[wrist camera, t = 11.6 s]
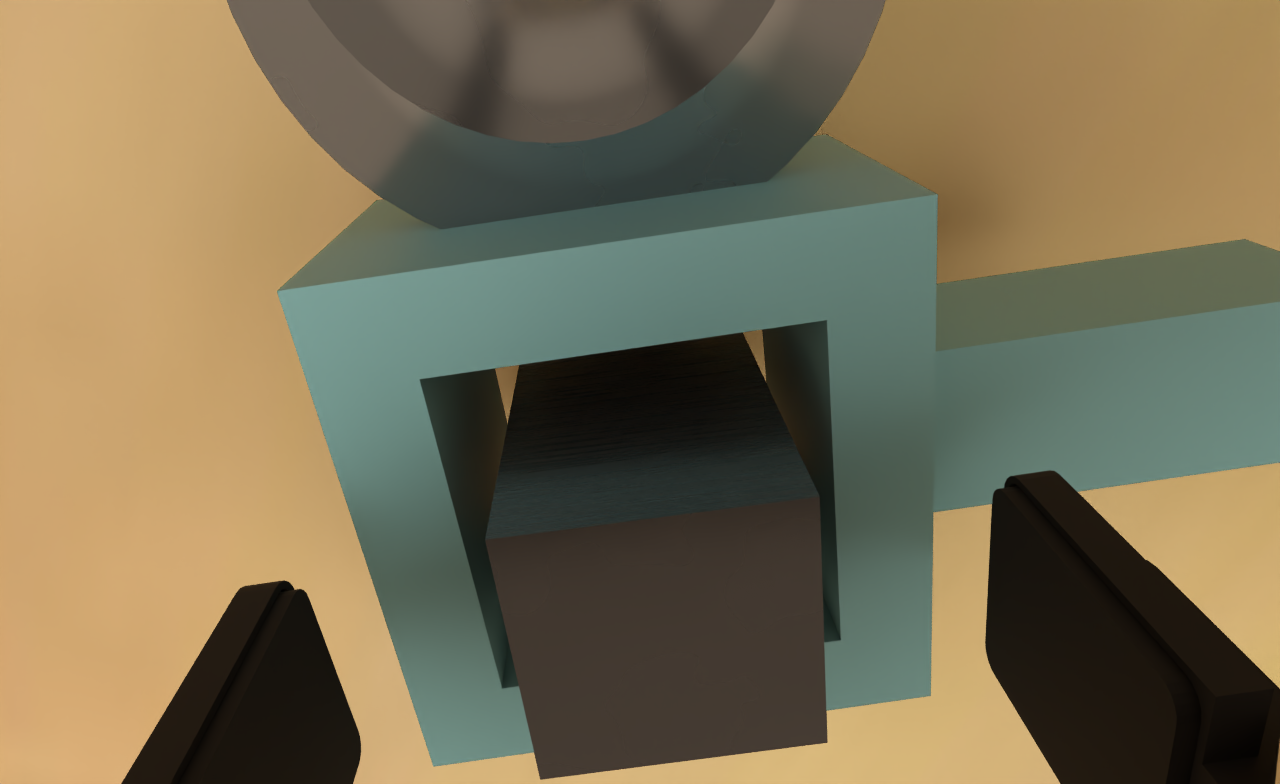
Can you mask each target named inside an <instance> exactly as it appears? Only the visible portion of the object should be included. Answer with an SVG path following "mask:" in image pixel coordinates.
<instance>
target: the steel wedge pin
mask: <svg viewBox="0 0 1280 784" xmlns="http://www.w3.org/2000/svg"><path fill="white" fill-rule="evenodd" d="M485 542H486V546H487V551H488V555H489V559H490V564H491V568H492V572H493V577H494V581H495V585H496V590H497V594H498V598H499V603H500V607H501V611H502V616H503V620H504V624H505V628H506V633H507V637H508V641H509V646H510V650H511V654H512V659H513V663H514V667H515V672H516V676H517V680H518V685H519V689H520V693H521V698H522V702H523V706H524V711H525V715H526V719H527V724H528V728H529V732H530V737H531V741H532V745H533V750H534V754H535V758H536V763H537V767H538V771H539V776H540V780H541V779H549V778H556V777H564V776H572V775H580V774H587V773H595V772H603V771H611V770H619V769H626V768H634V767H642V766H650V765H657V764H665V763H673V762H681V761H688V760H696V759H704V758H712V757H720V756H727V755H735V754H743V753H751V752H758V751H766V750H774V749H782V748H789V747H797V746H805V745H813V744H821V743H827V713H826V681H825V649H824V617H823V584H822V552H821V520H820V496H819V494H818V492H817V490H816V488H815V486H814V483H813V481H812V479H811V477H810V475H809V473H808V471H807V469H806V466H805V464H804V462H803V460H802V458H801V456H800V454H799V452H798V449H797V447H796V445H795V443H794V441H793V439H792V437H791V434H790V432H789V430H788V428H787V426H786V424H785V422H784V420H783V417H782V415H781V413H780V411H779V409H778V407H777V405H776V403H775V400H774V398H773V396H772V394H771V392H770V390H769V388H768V385H767V383H766V381H765V379H764V377H763V375H762V373H761V371H760V368H759V366H758V364H757V362H756V360H755V358H754V356H753V354H752V351H751V349H750V347H749V345H748V343H747V341H746V339H745V337H744V334H743V332H741V333H734V334H728V335H721V336H714V337H707V338H700V339H693V340H686V341H679V342H673V343H666V344H659V345H652V346H645V347H638V348H631V349H624V350H618V351H611V352H604V353H597V354H590V355H583V356H576V357H569V358H563V359H556V360H549V361H542V362H535V363H528V364H521V365H519V369H518V374H517V379H516V384H515V389H514V395H513V400H512V405H511V410H510V415H509V420H508V425H507V430H506V435H505V440H504V446H503V451H502V456H501V461H500V466H499V471H498V476H497V481H496V486H495V491H494V496H493V502H492V507H491V512H490V517H489V522H488V527H487V532H486V537H485Z"/></svg>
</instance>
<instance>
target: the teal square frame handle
mask: <svg viewBox="0 0 1280 784" xmlns="http://www.w3.org/2000/svg"><path fill="white" fill-rule="evenodd" d="M937 208H938V194H936V193H934V192H932V191H930V190H929V189H927V188H925V187H923V186H921V185H919V184H917V183H916V182H914V181H912V180H910V179H908V178H906V177H905V176H903V175H901V174H899V173H897V172H895V171H893V170H892V169H890V168H888V167H886V166H884V165H882V164H880V163H879V162H877V161H875V160H873V159H871V158H869V157H868V156H866V155H864V154H862V153H860V152H858V151H856V150H855V149H853V148H851V147H849V146H847V145H845V144H843V143H842V142H840V141H838V140H836V139H834V138H832V137H831V136H829V135H827V134H826V135H819V136H812V138H811V139H810V140H809V141H808V142H807V143H806V144H805V145H804V146H803V147H802V149H801V150H800V151H799V152H798V153H797V154H796V155H795V156H794V157H793V158H792V160H791V161H790V162H789V163H788V164H787V165H786V166H785V167H783V168H782V169H781V170H780V171H779V172H778V173H776V174H775V175H774V176H773V177H772V178H771V179H770V180H768V181H767V182H761V183H755V184H748V185H741V186H734V187H727V188H720V189H714V190H707V191H700V192H693V193H686V194H680V195H673V196H666V197H659V198H652V199H645V200H639V201H632V202H625V203H618V204H611V205H605V206H598V207H591V208H584V209H577V210H570V211H564V212H557V213H550V214H543V215H536V216H529V217H523V218H516V219H509V220H502V221H495V222H489V223H482V224H475V225H468V226H461V227H454V228H448V229H439V228H437V227H434V226H432V225H430V224H428V223H425V222H423V221H421V220H419V219H416V218H415V217H413V216H411V215H410V214H408V213H406V212H405V211H403V210H401V209H400V208H398V207H396V206H395V205H393V204H391V203H390V202H388V201H386V200H385V199H383V200H376V201H375V202H374V203H373V204H372V205H371V206H370V207H369V208H368V209H367V210H365V211H364V212H363V213H362V214H361V215H360V216H359V217H358V218H357V219H356V220H354V221H353V222H352V223H351V224H350V225H349V226H348V227H347V228H346V229H345V230H343V231H342V232H341V233H340V234H339V235H338V236H337V237H336V238H335V239H334V240H332V241H331V242H330V243H329V244H328V245H327V246H326V247H325V248H324V249H323V250H322V251H320V252H319V253H318V254H317V255H316V256H315V257H314V258H313V259H312V260H311V261H309V262H308V263H307V264H306V265H305V266H304V267H303V268H302V269H301V270H300V271H298V272H297V273H296V274H295V275H294V276H293V277H292V278H291V279H290V280H289V281H287V282H286V283H285V284H284V285H283V286H282V287H281V288H280V289H279V290H278V291H277V293H278V296H279V299H280V302H281V305H282V308H283V311H284V314H285V317H286V320H287V323H288V326H289V329H290V332H291V335H292V338H293V341H294V345H295V348H296V351H297V354H298V357H299V360H300V363H301V366H302V369H303V372H304V375H305V378H306V381H307V384H308V387H309V390H310V393H311V396H312V399H313V402H314V405H315V408H316V411H317V414H318V417H319V420H320V423H321V426H322V429H323V433H324V436H325V439H326V442H327V445H328V448H329V451H330V454H331V457H332V460H333V463H334V466H335V469H336V472H337V475H338V478H339V481H340V484H341V487H342V490H343V493H344V496H345V499H346V502H347V505H348V508H349V511H350V514H351V518H352V521H353V524H354V527H355V530H356V533H357V536H358V539H359V542H360V545H361V548H362V551H363V554H364V557H365V560H366V563H367V566H368V569H369V572H370V575H371V578H372V581H373V584H374V587H375V590H376V593H377V596H378V599H379V602H380V606H381V609H382V612H383V615H384V618H385V621H386V624H387V627H388V630H389V633H390V636H391V639H392V642H393V645H394V648H395V651H396V654H397V657H398V660H399V663H400V666H401V669H402V672H403V675H404V678H405V681H406V684H407V687H408V690H409V694H410V697H411V700H412V703H413V706H414V709H415V712H416V715H417V718H418V721H419V724H420V727H421V730H422V733H423V736H424V739H425V742H426V745H427V748H428V751H429V754H430V757H431V760H432V763H433V766H441V765H448V764H455V763H462V762H469V761H476V760H483V759H490V758H497V757H504V756H511V755H518V754H525V753H532V752H534V750H533V745H532V741H531V737H530V732H529V728H528V724H527V719H526V715H525V711H524V706H523V702H522V698H521V693H520V689H519V685H518V680H517V676H516V672H515V667H514V663H513V659H512V654H511V650H510V646H509V641H508V637H507V633H506V628H505V624H504V620H503V616H502V611H501V607H500V603H499V598H498V594H497V590H496V585H495V581H494V577H493V572H492V568H491V564H490V559H489V555H488V551H487V546H486V542H485V537H486V532H487V527H488V522H489V517H490V512H491V507H492V502H493V496H494V491H495V486H496V481H497V476H498V471H499V466H500V461H501V456H502V451H503V446H504V440H505V435H506V430H507V420H506V416H505V411H504V407H503V402H502V398H501V393H500V389H499V385H498V380H497V376H496V371H495V368H501V367H508V366H514V365H521V364H528V363H535V362H542V361H549V360H556V359H563V358H569V357H576V356H583V355H590V354H597V353H604V352H611V351H618V350H624V349H631V348H638V347H645V346H652V345H659V344H666V343H673V342H679V341H686V340H693V339H700V338H707V337H714V336H721V335H728V334H734V333H741V332H748V331H755V330H762V331H763V343H764V356H765V369H766V382H767V385H768V388H769V390H770V392H771V394H772V396H773V398H774V400H775V403H776V405H777V407H778V409H779V411H780V413H781V415H782V417H783V420H784V422H785V424H786V426H787V428H788V430H789V432H790V434H791V437H792V439H793V441H794V443H795V445H796V447H797V449H798V452H799V454H800V456H801V458H802V460H803V462H804V464H805V466H806V469H807V471H808V473H809V475H810V477H811V479H812V481H813V483H814V486H815V488H816V490H817V492H818V494H819V496H820V520H821V552H822V584H823V617H824V649H825V681H826V711H827V710H834V709H841V708H848V707H855V706H862V705H869V704H877V703H884V702H891V701H898V700H905V699H912V698H919V697H926V696H931V640H932V568H933V512H939V511H946V510H953V509H960V508H967V507H974V506H980V505H987V504H992V498H993V493H994V491H995V490H996V489H999V488H1004V484H1005V482H1006V480H1007V478H1008V477H1010V476H1014V475H1020V474H1027V473H1034V472H1041V471H1048V470H1052V471H1056V472H1057V473H1058V474H1060V475H1061V476H1062V477H1063V478H1064V479H1065V480H1066V481H1067V482H1068V483H1069V484H1070V485H1071V486H1072V487H1073V488H1074V489H1075V490H1076V491H1077V492H1078V491H1085V490H1092V489H1099V488H1106V487H1113V486H1120V485H1127V484H1133V483H1140V482H1147V481H1154V480H1161V479H1168V478H1175V477H1182V476H1189V475H1196V474H1203V473H1210V472H1217V471H1224V470H1231V469H1238V468H1245V467H1252V466H1259V465H1266V464H1273V463H1280V251H1277V250H1274V249H1271V248H1268V247H1266V246H1263V245H1260V244H1257V243H1254V242H1252V241H1249V240H1246V239H1242V240H1235V241H1229V242H1222V243H1215V244H1208V245H1201V246H1194V247H1187V248H1181V249H1174V250H1167V251H1160V252H1153V253H1146V254H1139V255H1132V256H1126V257H1119V258H1112V259H1105V260H1098V261H1091V262H1084V263H1078V264H1071V265H1064V266H1057V267H1050V268H1043V269H1036V270H1029V271H1023V272H1016V273H1009V274H1002V275H995V276H988V277H981V278H975V279H968V280H961V281H954V282H947V283H940V284H936V280H937Z"/></svg>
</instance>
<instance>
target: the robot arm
mask: <svg viewBox="0 0 1280 784" xmlns="http://www.w3.org/2000/svg"><path fill="white" fill-rule="evenodd" d="M985 643H986V653H987V657H988V661H989V664H990V666H991V669H992V671H993V673H994V674H995V676H996V678H997V679H998V681H999V683H1000V684H1001V686H1002V688H1003V689H1004V691H1005V693H1006V694H1007V696H1008V698H1009V699H1010V701H1011V703H1012V704H1013V706H1014V707H1015V709H1016V711H1017V712H1018V714H1019V716H1020V717H1021V719H1022V721H1023V722H1024V724H1025V726H1026V727H1027V729H1028V731H1029V732H1030V734H1031V736H1032V737H1033V739H1034V740H1035V742H1036V744H1037V745H1038V747H1039V749H1040V750H1041V752H1042V754H1043V755H1044V757H1045V759H1046V760H1047V762H1048V764H1049V765H1050V767H1051V769H1052V770H1053V772H1054V773H1055V775H1056V777H1057V778H1058V780H1059V782H1060V783H1061V784H1280V689H1279V688H1278V687H1277V686H1276V685H1275V684H1274V683H1273V682H1272V681H1271V680H1270V679H1269V678H1268V677H1267V676H1266V675H1265V674H1264V673H1263V672H1262V671H1261V670H1260V669H1259V668H1258V667H1257V666H1256V665H1255V664H1254V663H1253V662H1252V661H1251V660H1250V659H1249V658H1248V657H1247V656H1246V655H1245V654H1244V653H1243V652H1242V651H1241V650H1240V649H1239V648H1238V647H1237V646H1236V645H1235V644H1234V643H1233V642H1232V641H1231V640H1230V639H1229V638H1228V637H1227V636H1226V635H1225V634H1224V633H1223V632H1222V631H1221V630H1220V629H1219V628H1218V627H1217V626H1216V625H1215V624H1214V623H1213V622H1212V621H1211V620H1210V619H1209V618H1208V617H1207V616H1206V615H1205V614H1204V613H1203V612H1202V611H1201V610H1200V609H1199V608H1198V607H1197V606H1196V605H1195V604H1194V603H1193V602H1192V601H1191V600H1189V599H1188V598H1187V597H1186V596H1185V595H1184V594H1183V593H1182V592H1181V591H1180V590H1179V589H1178V588H1177V587H1176V586H1175V585H1174V584H1173V583H1172V582H1171V581H1170V580H1169V579H1168V578H1167V577H1166V576H1165V575H1164V574H1163V573H1162V572H1161V571H1160V570H1159V569H1158V568H1157V567H1156V566H1154V565H1153V564H1152V563H1150V562H1149V561H1148V560H1145V559H1144V558H1143V557H1142V556H1141V555H1140V554H1139V553H1138V552H1137V551H1136V550H1135V549H1134V548H1133V547H1132V546H1131V545H1130V544H1129V543H1128V542H1127V541H1126V540H1125V539H1124V538H1123V537H1122V536H1121V535H1120V534H1119V533H1118V532H1117V531H1116V530H1115V529H1114V528H1113V527H1112V526H1111V525H1110V524H1109V523H1108V522H1107V521H1106V520H1105V519H1104V518H1103V517H1102V516H1101V515H1100V514H1099V513H1098V512H1097V511H1096V510H1095V509H1094V508H1093V507H1092V506H1091V505H1090V504H1089V503H1088V502H1087V501H1086V500H1085V499H1084V498H1083V497H1082V496H1081V495H1080V494H1079V493H1078V492H1077V491H1076V490H1075V489H1074V488H1073V487H1072V486H1071V485H1070V484H1069V483H1068V482H1067V481H1066V480H1065V479H1064V478H1063V477H1062V476H1061V475H1060V474H1058V473H1057V472H1056V471H1052V470H1048V471H1041V472H1034V473H1027V474H1020V475H1014V476H1010V477H1008V478H1007V480H1006V482H1005V484H1004V488H999V489H996V490H995V491H994V493H993V498H992V516H991V537H990V558H989V579H988V599H987V620H986V641H985ZM360 755H361V741H360V735H359V732H358V729H357V726H356V724H355V721H354V718H353V715H352V713H351V710H350V707H349V705H348V702H347V699H346V697H345V694H344V691H343V689H342V686H341V683H340V681H339V678H338V675H337V673H336V670H335V667H334V664H333V662H332V659H331V656H330V654H329V651H328V648H327V646H326V643H325V640H324V638H323V635H322V632H321V630H320V627H319V624H318V621H317V619H316V616H315V613H314V611H313V608H312V605H311V603H310V600H309V598H308V596H307V593H306V592H305V591H304V590H302V589H297V590H294V588H293V586H292V585H291V584H290V583H289V582H287V581H277V582H270V583H264V584H257V585H250V586H244V587H242V588H240V589H239V590H238V592H237V593H236V594H235V596H234V598H233V599H232V601H231V603H230V604H229V606H228V608H227V609H226V611H225V613H224V614H223V616H222V618H221V619H220V621H219V623H218V624H217V626H216V628H215V629H214V631H213V632H212V634H211V636H210V637H209V639H208V641H207V642H206V644H205V646H204V647H203V649H202V651H201V652H200V654H199V656H198V657H197V659H196V661H195V662H194V664H193V666H192V667H191V669H190V671H189V672H188V674H187V676H186V677H185V679H184V681H183V682H182V684H181V686H180V687H179V689H178V691H177V692H176V694H175V696H174V697H173V699H172V701H171V702H170V704H169V706H168V707H167V709H166V711H165V712H164V714H163V715H162V717H161V719H160V720H159V722H158V724H157V725H156V727H155V729H154V730H153V732H152V734H151V735H150V737H149V739H148V740H147V742H146V744H145V745H144V747H143V749H142V750H141V752H140V754H139V755H138V757H137V759H136V760H135V762H134V764H133V765H132V767H131V769H130V770H129V772H128V774H127V775H126V777H125V779H124V780H123V782H122V784H353V782H354V778H355V775H356V772H357V768H358V765H359V761H360Z"/></svg>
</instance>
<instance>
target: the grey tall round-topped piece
mask: <svg viewBox="0 0 1280 784" xmlns="http://www.w3.org/2000/svg"><path fill="white" fill-rule="evenodd" d="M227 2H228V5H229V7H230V10H231V13H232V15H233V17H234V19H235V21H236V23H237V25H238V27H239V29H240V31H241V33H242V35H243V37H244V39H245V41H246V43H247V45H248V47H249V49H250V51H251V53H252V55H253V57H254V59H255V61H256V62H257V64H258V65H259V67H260V68H261V70H262V72H263V73H264V75H265V76H266V78H267V79H268V81H269V82H270V84H271V85H272V87H273V88H274V90H275V92H276V93H277V95H278V96H279V98H280V99H281V101H282V102H283V103H284V104H285V106H286V107H287V108H288V109H289V111H290V112H291V113H292V114H293V115H294V117H295V118H296V119H297V120H298V122H299V123H300V124H301V125H302V126H303V128H304V129H305V130H306V131H307V133H308V134H309V135H310V136H311V137H312V138H313V139H314V140H315V141H316V142H317V143H318V144H319V145H320V146H321V147H322V148H323V149H324V150H325V151H326V152H327V153H328V154H329V155H330V156H331V157H332V158H333V159H334V160H335V161H336V162H337V163H338V164H339V165H340V166H341V167H342V168H343V169H345V170H346V171H347V172H348V173H350V174H351V175H352V176H354V177H355V178H356V179H358V180H359V181H360V182H361V183H363V184H364V185H365V186H367V187H368V188H369V189H370V190H372V191H373V192H374V193H376V194H377V195H378V196H380V197H381V198H383V199H385V200H386V201H388V202H390V203H391V204H393V205H395V206H396V207H398V208H400V209H401V210H403V211H405V212H406V213H408V214H410V215H411V216H413V217H415V218H416V219H419V220H421V221H423V222H425V223H428V224H430V225H432V226H434V227H437V228H439V229H448V228H454V227H461V226H468V225H475V224H482V223H489V222H495V221H502V220H509V219H516V218H523V217H529V216H536V215H543V214H550V213H557V212H564V211H570V210H577V209H584V208H591V207H598V206H605V205H611V204H618V203H625V202H632V201H639V200H645V199H652V198H659V197H666V196H673V195H680V194H686V193H693V192H700V191H707V190H714V189H720V188H727V187H734V186H741V185H748V184H755V183H761V182H767V181H768V180H770V179H771V178H772V177H773V176H774V175H775V174H776V173H778V172H779V171H780V170H781V169H782V168H783V167H785V166H786V165H787V164H788V163H789V162H790V161H791V160H792V158H793V157H794V156H795V155H796V154H797V153H798V152H799V151H800V150H801V149H802V147H803V146H804V145H805V144H806V143H807V142H808V141H809V140H810V139H811V138H812V136H813V135H814V134H815V133H816V132H817V131H818V129H819V128H820V126H821V125H822V124H823V122H824V121H825V119H826V118H827V117H828V115H829V114H830V112H831V111H832V109H833V108H834V107H835V105H836V104H837V102H838V101H839V100H840V98H841V97H842V95H843V93H844V92H845V90H846V88H847V86H848V84H849V82H850V81H851V79H852V77H853V75H854V73H855V72H856V70H857V68H858V66H859V64H860V62H861V61H862V59H863V57H864V55H865V52H866V50H867V48H868V45H869V43H870V40H871V38H872V35H873V33H874V31H875V28H876V26H877V23H878V21H879V18H880V16H881V13H882V10H883V7H884V3H885V0H227Z"/></svg>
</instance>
